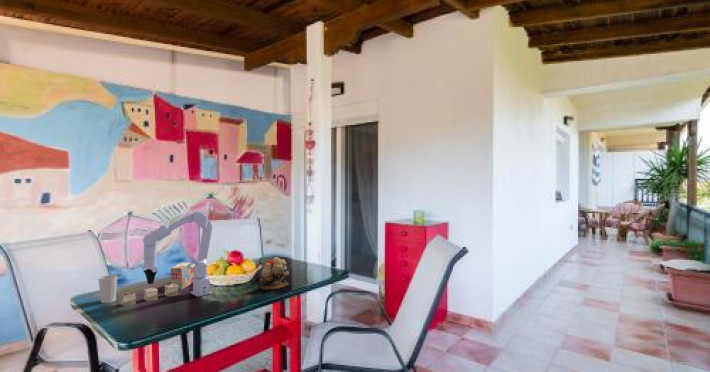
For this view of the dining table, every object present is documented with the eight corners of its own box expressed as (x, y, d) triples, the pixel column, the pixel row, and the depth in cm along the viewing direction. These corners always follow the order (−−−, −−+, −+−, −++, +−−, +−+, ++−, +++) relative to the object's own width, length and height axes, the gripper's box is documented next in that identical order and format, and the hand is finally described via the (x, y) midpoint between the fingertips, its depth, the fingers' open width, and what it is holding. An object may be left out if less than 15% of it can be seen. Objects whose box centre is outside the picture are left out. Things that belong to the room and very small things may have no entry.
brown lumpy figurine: (282, 281, 221) (283, 253, 221) (294, 286, 213) (294, 256, 212) (255, 287, 209) (255, 257, 208) (266, 292, 200) (266, 261, 200)
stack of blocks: (188, 278, 227) (188, 258, 226) (198, 279, 227) (198, 258, 226) (170, 289, 205) (170, 267, 205) (181, 289, 205) (181, 267, 205)
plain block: (157, 299, 189) (157, 289, 189) (146, 301, 186) (146, 291, 185) (154, 297, 193) (154, 287, 192) (143, 299, 189) (143, 289, 189)
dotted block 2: (178, 294, 196) (178, 285, 196) (168, 297, 193) (168, 287, 192) (174, 292, 200) (174, 283, 200) (164, 294, 196) (164, 285, 196)
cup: (121, 299, 189) (121, 275, 188) (106, 304, 181) (106, 279, 181) (110, 297, 191) (109, 274, 191) (94, 302, 184) (94, 278, 184)
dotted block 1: (135, 303, 182) (135, 293, 182) (124, 306, 178) (123, 296, 178) (132, 301, 186) (132, 291, 185) (121, 304, 182) (121, 293, 182)
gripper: (137, 256, 191) (137, 282, 191) (145, 260, 181) (146, 288, 181) (152, 254, 196) (152, 279, 196) (161, 258, 186) (161, 285, 186)
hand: (150, 283), depth 189 cm, fingers closed
